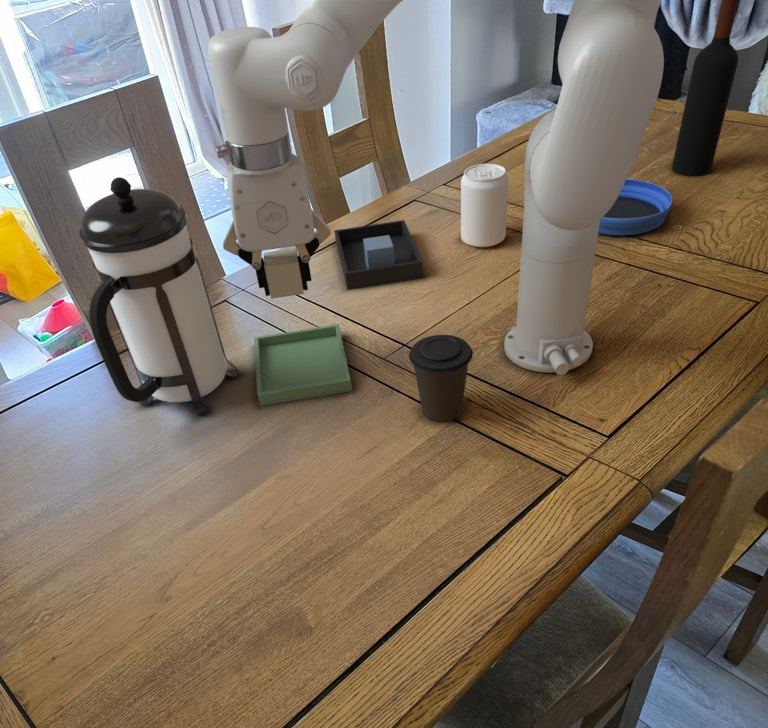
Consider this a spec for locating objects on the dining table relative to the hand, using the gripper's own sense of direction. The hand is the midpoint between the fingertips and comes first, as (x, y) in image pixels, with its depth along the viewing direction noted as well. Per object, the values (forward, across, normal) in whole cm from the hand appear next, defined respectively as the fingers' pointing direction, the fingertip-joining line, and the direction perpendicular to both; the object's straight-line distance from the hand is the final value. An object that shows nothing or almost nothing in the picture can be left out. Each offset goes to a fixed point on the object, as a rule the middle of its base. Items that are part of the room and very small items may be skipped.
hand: (286, 287), depth 98 cm
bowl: (+11, +62, +29) cm, 70 cm away
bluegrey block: (+11, +16, +23) cm, 30 cm away
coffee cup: (+11, +18, -19) cm, 28 cm away
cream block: (0, 0, 0) cm, 0 cm away
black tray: (+11, +16, +26) cm, 33 cm away
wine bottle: (+11, +84, +46) cm, 96 cm away
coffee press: (+12, -17, -6) cm, 21 cm away
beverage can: (+11, +36, +28) cm, 47 cm away
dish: (+11, 0, -4) cm, 12 cm away
